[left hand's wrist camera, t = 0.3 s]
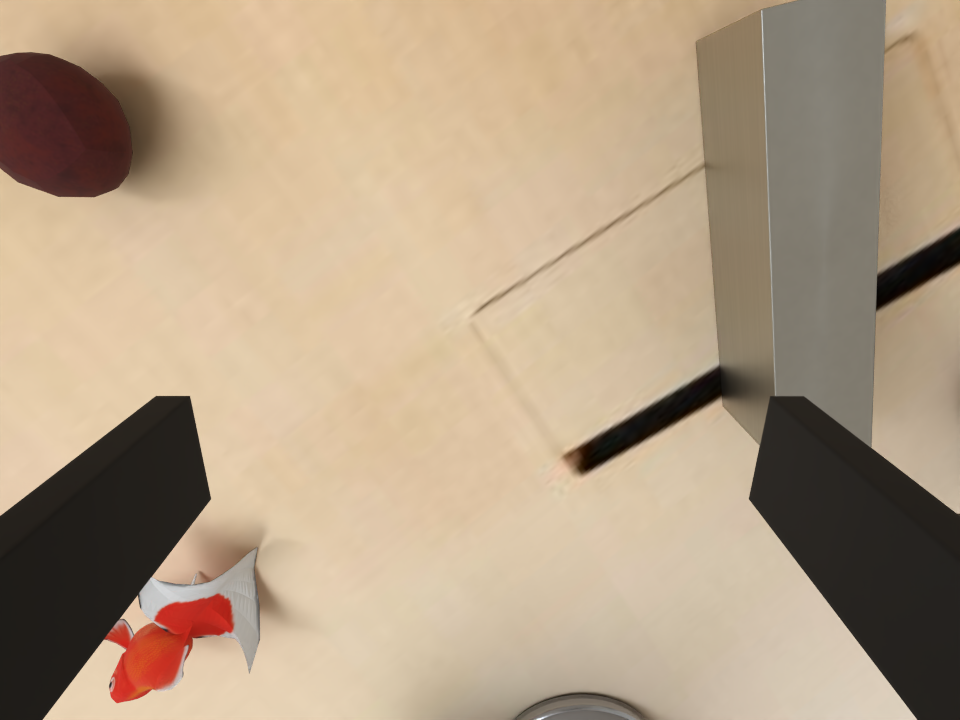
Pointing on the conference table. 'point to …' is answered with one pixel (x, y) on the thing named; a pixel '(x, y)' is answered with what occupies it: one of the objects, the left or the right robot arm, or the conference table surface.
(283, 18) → the conference table surface
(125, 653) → the fish
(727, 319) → the bar
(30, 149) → the dark red ball
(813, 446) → the left robot arm
